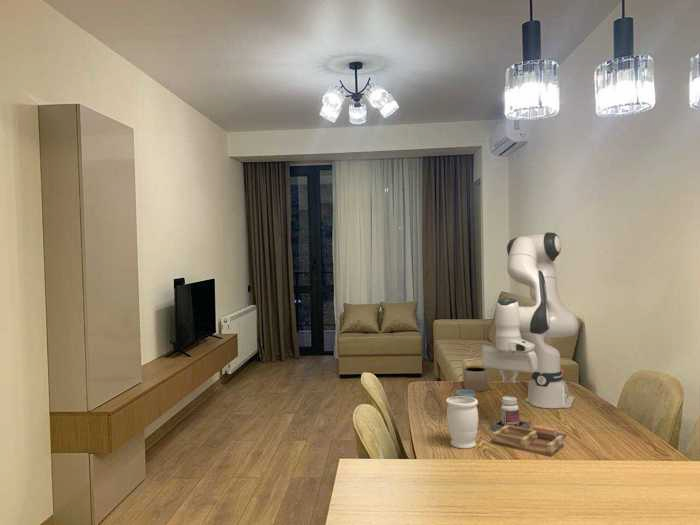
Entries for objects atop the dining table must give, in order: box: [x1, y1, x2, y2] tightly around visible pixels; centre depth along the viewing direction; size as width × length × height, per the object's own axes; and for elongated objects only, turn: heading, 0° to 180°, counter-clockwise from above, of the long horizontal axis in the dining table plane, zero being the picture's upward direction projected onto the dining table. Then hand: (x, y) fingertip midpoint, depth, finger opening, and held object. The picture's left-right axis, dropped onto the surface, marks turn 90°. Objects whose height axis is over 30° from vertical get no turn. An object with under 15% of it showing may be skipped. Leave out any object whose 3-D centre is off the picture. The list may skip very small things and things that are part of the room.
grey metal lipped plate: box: [537, 432, 568, 441], centre depth 179 cm, size 10×9×3 cm
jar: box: [446, 395, 479, 450], centre depth 175 cm, size 11×10×15 cm
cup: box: [454, 389, 476, 399], centre depth 203 cm, size 8×8×10 cm
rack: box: [491, 425, 565, 457], centre depth 173 cm, size 11×20×4 cm, turn 49°
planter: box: [463, 366, 489, 393], centre depth 248 cm, size 11×11×10 cm
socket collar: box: [490, 418, 531, 432], centre depth 189 cm, size 10×10×2 cm
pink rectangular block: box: [532, 424, 557, 436], centre depth 177 cm, size 2×7×4 cm, turn 49°
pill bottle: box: [500, 395, 520, 427], centre depth 189 cm, size 6×6×11 cm
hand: (509, 382), depth 189 cm, fingers closed
